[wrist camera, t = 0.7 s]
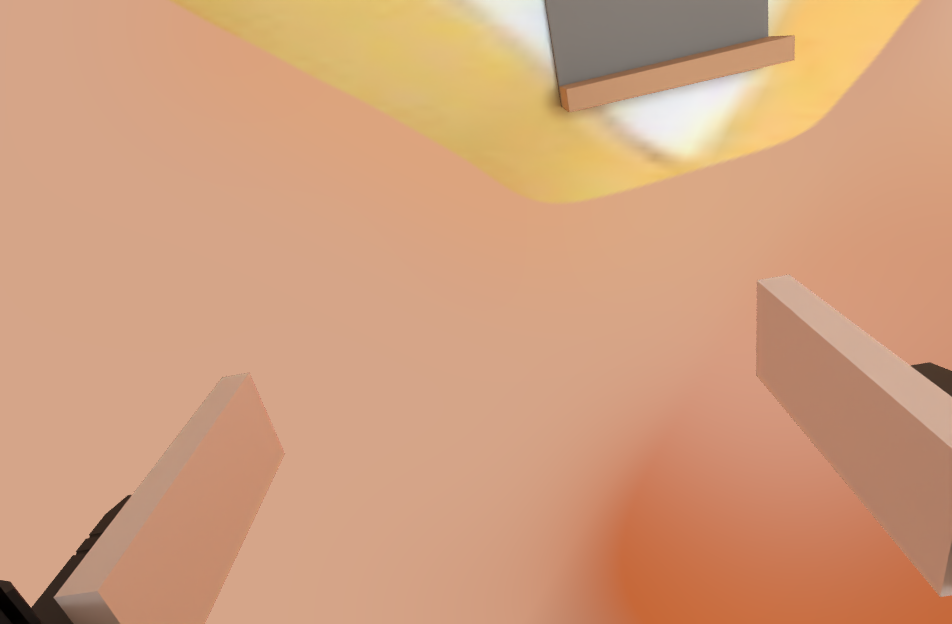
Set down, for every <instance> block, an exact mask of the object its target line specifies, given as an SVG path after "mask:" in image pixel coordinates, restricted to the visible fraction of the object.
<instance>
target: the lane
mask: <svg viewBox="0 0 952 624" xmlns="http://www.w3.org/2000/svg"><path fill="white" fill-rule="evenodd" d="M545 3H546V9H547V16H548V22H549V29H550V35H551V42H552V48H553V55H554V61H555V68H556V74H557V81H558V87H559V94H560V100H561V106H562V107H563V108H564V109H566V110H567V111H569V112H573V111H578V110H582V109H586V108H591V107H595V106H599V105H603V104H608V103H612V102H616V101H621V100H625V99H629V98H634V97H638V96H642V95H646V94H651V93H655V92H659V91H664V90H668V89H672V88H676V87H681V86H685V85H689V84H694V83H698V82H702V81H706V80H711V79H715V78H719V77H724V76H728V75H732V74H737V73H741V72H745V71H749V70H754V69H758V68H762V67H767V66H771V65H775V64H779V63H784V62H788V61H792V60H794V49H795V35H793V36H771V37H768V0H545Z"/></svg>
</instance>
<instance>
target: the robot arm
mask: <svg viewBox="0 0 952 624" xmlns="http://www.w3.org/2000/svg"><path fill="white" fill-rule="evenodd" d="M756 345H757V348H756V349H757V350H756V353H757V354H756V355H757V357H756V375H757V377H758V378H759V379H760V380H761V381H762V383H763V384H764V385H765V386H766V387H767V389H768V390H769V391H770V392H771V393H772V395H773V396H774V397H775V398H776V399H777V401H778V402H779V403H780V404H781V406H782V407H783V408H784V409H785V410H786V411H787V413H788V414H789V415H790V416H791V418H792V419H793V420H794V421H795V422H796V424H797V425H798V426H799V427H800V428H801V430H802V431H803V432H804V433H805V434H806V436H807V437H808V438H809V439H810V440H811V441H812V443H813V444H814V445H815V446H816V448H817V449H818V450H819V451H820V452H821V454H822V455H823V456H824V457H825V459H826V460H827V461H828V462H829V463H830V464H831V466H832V467H833V468H834V469H835V471H836V472H837V473H838V474H839V475H840V477H841V478H842V479H843V480H844V481H845V483H846V484H847V485H848V486H849V487H850V489H851V490H852V491H853V492H854V494H855V495H856V496H857V497H858V498H859V499H860V501H861V502H862V503H863V504H864V506H865V507H866V508H867V509H868V510H869V511H870V513H871V514H872V515H873V516H874V518H875V519H876V520H877V521H878V522H879V524H880V525H881V526H882V527H883V528H884V530H885V531H886V532H887V533H888V534H889V536H890V537H891V538H892V539H893V541H894V542H895V543H896V544H897V545H898V546H899V548H900V549H901V550H902V551H903V553H904V554H905V555H906V556H907V557H908V558H909V560H910V561H911V562H912V563H913V565H914V566H915V567H916V568H917V569H918V571H919V572H920V573H921V574H922V575H923V577H924V578H925V579H926V580H927V581H928V583H929V584H930V585H931V586H932V588H933V589H934V590H935V591H936V592H937V593H938V595H939V596H940V597H942V596H950V595H952V371H950V370H948V369H945V368H943V367H940V366H937V365H935V364H932V363H923V364H918V365H911V366H910V365H908V364H907V363H906V362H905V361H903V360H902V359H901V358H899V357H898V356H897V355H895V354H894V353H893V352H891V351H890V350H889V349H887V348H886V347H885V346H883V345H882V344H881V343H879V342H878V341H877V340H875V339H874V338H873V337H871V336H870V335H869V334H867V333H866V332H865V331H863V330H862V329H861V328H860V327H858V326H857V325H856V324H854V323H853V322H851V321H850V320H849V319H848V318H846V317H845V316H844V315H842V314H841V313H840V312H838V311H837V310H836V309H834V308H833V307H832V306H830V305H829V304H828V303H826V302H825V301H824V300H822V299H821V298H820V297H818V296H817V295H815V294H814V293H813V292H811V291H810V290H809V289H808V288H806V287H805V286H804V285H802V284H801V283H800V282H798V281H797V280H796V279H794V278H793V277H792V276H790V275H784V276H779V277H773V278H768V279H762V280H757V344H756ZM284 455H285V453H284V450H283V448H282V446H281V444H280V441H279V439H278V437H277V434H276V432H275V430H274V428H273V426H272V423H271V421H270V419H269V416H268V414H267V412H266V410H265V407H264V405H263V403H262V401H261V398H260V396H259V394H258V391H257V389H256V387H255V384H254V382H253V380H252V378H251V375H250V373H244V374H238V375H233V376H228V377H222V378H221V379H220V381H219V382H218V384H217V385H216V386H215V387H214V389H213V390H212V391H211V393H210V394H209V395H208V396H207V398H206V399H205V400H204V402H203V403H202V405H201V406H200V407H199V408H198V410H197V411H196V412H195V413H194V415H193V416H192V417H191V419H190V420H189V421H188V423H187V424H186V425H185V427H184V428H183V429H182V430H181V432H180V433H179V434H178V436H177V437H176V438H175V440H174V441H173V442H172V444H171V445H170V446H169V447H168V449H167V450H166V451H165V453H164V454H163V455H162V457H161V458H160V459H159V460H158V462H157V463H156V464H155V466H154V467H153V468H152V470H151V471H150V472H149V474H148V475H147V476H146V477H145V479H144V480H143V481H142V483H141V484H140V485H139V487H138V488H137V489H136V490H135V492H134V493H133V494H132V495H128V496H127V497H126V498H124V499H123V500H122V501H121V502H120V503H118V504H117V505H116V506H115V507H114V508H113V509H111V510H110V511H109V512H108V513H106V514H105V516H104V517H103V518H102V520H100V522H99V523H98V524H97V526H96V527H95V528H94V529H93V531H92V532H91V533H90V534H89V535H90V538H88V539H85V541H84V542H83V543H82V545H81V546H80V547H79V548H78V550H77V551H76V552H77V553H76V555H73V556H72V557H71V559H70V560H69V561H68V562H67V564H66V565H65V566H64V567H63V569H62V570H61V571H60V572H59V574H58V575H57V576H56V577H55V579H54V580H53V581H52V583H51V584H50V585H49V586H48V588H47V589H46V590H45V591H44V593H43V594H42V595H41V596H40V598H39V599H38V600H37V601H36V603H35V604H34V605H33V606H32V608H31V607H30V606H29V605H28V604H27V602H26V601H25V600H24V598H23V597H22V596H21V595H20V593H19V592H18V591H17V590H16V589H15V587H14V586H13V585H12V583H11V582H9V581H3V580H0V624H205V622H206V620H207V618H208V616H209V614H210V612H211V609H212V607H213V605H214V603H215V601H216V599H217V597H218V595H219V592H220V590H221V588H222V586H223V584H224V582H225V580H226V578H227V576H228V573H229V571H230V569H231V567H232V565H233V563H234V561H235V558H236V556H237V554H238V552H239V550H240V548H241V546H242V544H243V541H244V540H245V537H246V535H247V533H248V531H249V529H250V527H251V525H252V523H253V520H254V518H255V516H256V514H257V512H258V510H259V508H260V506H261V503H262V501H263V499H264V497H265V495H266V493H267V491H268V489H269V486H270V484H271V482H272V480H273V478H274V476H275V474H276V472H277V470H278V467H279V465H280V463H281V461H282V459H283V457H284Z"/></svg>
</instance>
